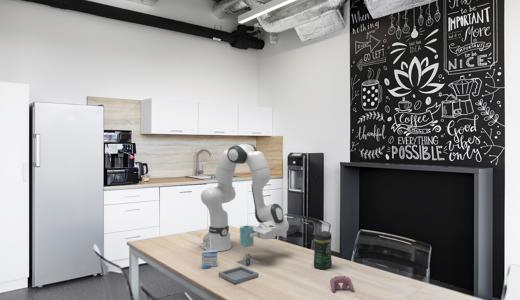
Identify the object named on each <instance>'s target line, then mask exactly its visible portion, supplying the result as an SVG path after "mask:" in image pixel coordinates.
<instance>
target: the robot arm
mask: <svg viewBox="0 0 520 300" xmlns="http://www.w3.org/2000/svg"><path fill="white" fill-rule="evenodd" d="M237 164H240V165H241V164H247V166H248V168H249V170H250V171H249V172H250V175H251V194H252V199H253V204H254V216H255V217H254V218H255V219H256V221H257V222H258V223H259V224H258V226H257V225H253V224H252V225H249V226H252V227H253V233H249V234H248V237H253V238H257V239H261V240H275V239H276V237H278V236H282V235H284V234H285V233H287V232H288V230H289V228H290V224H289V221H288V220H287V219H286V218H285V216H284V210H283V209H282V207H281V205H279V204H278V203H272V204H269V205H267V204H265V199H264V194H263V193H264V192H263V191H264V190H263V189H264V188H265V186H266V185H267V184H268V183H270V180H271V177H272V175H271V169H270V167H269V163H268V161H267V158H266V156H265V155H264V153H263V152H262V151H260V150H257V148H256V146H255V145H253V144H250V143H241V144H238V145H237V144H236V145H235V144H234V145H233V146H230V147H229V148H228V149H225V150H223V151H222V153H221V155H220V158H219V160H218V164H217V167H216V171H215V173H214V174H215V175H214V177H215V179H216V181H217V182H218V183H217V186H213V187H208V188H206V189H204V190H202V192H201V194H200V200H201V202H202V203H203V205H205V206H206V208H207V210H208V212H209V219H210V220H209V223H210V225H209V226H208V231H207V233H206V234H205V235H203V238H202V242H201V243H200V244H199V245H200V246H201V247H200V246H199V247H200V248H202V249H203V250H204V249H205V250H204V251H206V250H217V252H222V251H227V250H230V249H231V248H232V246H233V243H232V242H231V234H230V232H229V230H230V227H229V219H228V217H229V215H228V214H229V213H228V211H226V210H224V207H223V204H227V203H229V202H231V201H234V200H235V198H236V190H235V188H234V187H233V179H234V176H235V172H236V167H237Z"/></svg>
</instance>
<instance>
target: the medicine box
mask: <svg viewBox="0 0 520 300" xmlns="http://www.w3.org/2000/svg"><path fill="white" fill-rule="evenodd" d="M201 267H202V269H203V270H207V269H208V270H209V269H212V268H215V267H216V268H217V267H218V251H217V250H201Z"/></svg>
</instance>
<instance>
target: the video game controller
mask: <svg viewBox="0 0 520 300" xmlns="http://www.w3.org/2000/svg"><path fill="white" fill-rule="evenodd" d="M329 284H330V289H331V291H332V293H335V292H336V291H335V290H340V289H341V288H342V289H343V290H347V289H348V287H349V289H350V291H351V292H352V293H354V291H355V290H354V284H353V281H352V279H351V278H350V277H349V276H345V275H337V276H336V275H335V276H333V277H332V278H330V279H329ZM340 284H342V285H340Z"/></svg>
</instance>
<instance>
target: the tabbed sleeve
mask: <svg viewBox="0 0 520 300" xmlns="http://www.w3.org/2000/svg"><path fill="white" fill-rule="evenodd" d="M249 233H253V227H252V226H250V225H241V226H239V238H240V239H239V240H240V244H239V245H240V246H241V247H244V248H249V247H253V246H254V237H248V234H249Z"/></svg>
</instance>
